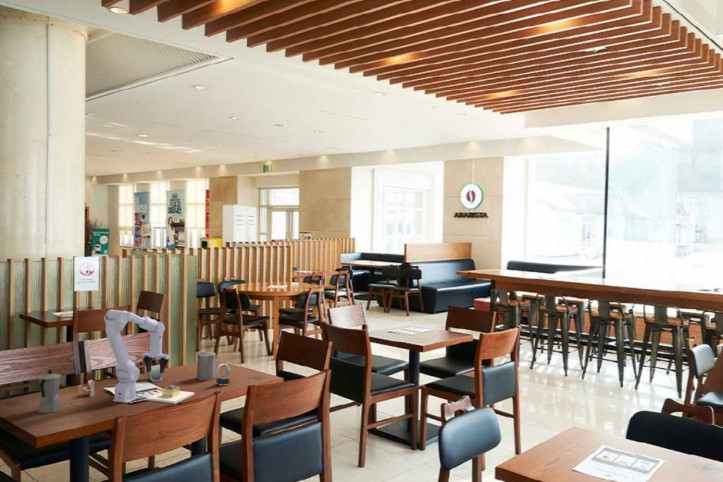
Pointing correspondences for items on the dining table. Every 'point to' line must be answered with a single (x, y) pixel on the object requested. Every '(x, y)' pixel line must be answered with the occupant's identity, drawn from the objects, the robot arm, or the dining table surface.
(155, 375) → the ceramic mug
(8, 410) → the dining table surface
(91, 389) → the architectural model
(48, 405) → the coffeepot
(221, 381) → the watch
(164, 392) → the wooden square ring
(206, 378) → the pillar candle
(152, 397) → the post stand
